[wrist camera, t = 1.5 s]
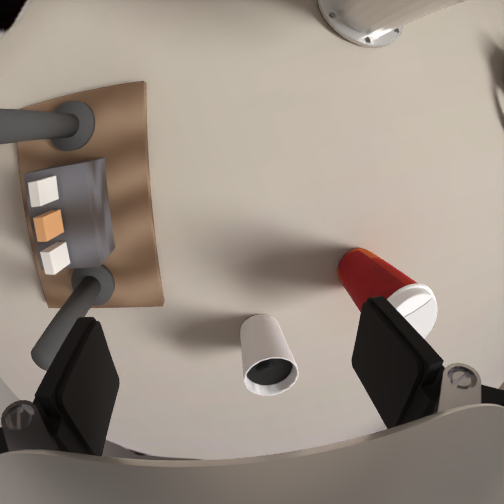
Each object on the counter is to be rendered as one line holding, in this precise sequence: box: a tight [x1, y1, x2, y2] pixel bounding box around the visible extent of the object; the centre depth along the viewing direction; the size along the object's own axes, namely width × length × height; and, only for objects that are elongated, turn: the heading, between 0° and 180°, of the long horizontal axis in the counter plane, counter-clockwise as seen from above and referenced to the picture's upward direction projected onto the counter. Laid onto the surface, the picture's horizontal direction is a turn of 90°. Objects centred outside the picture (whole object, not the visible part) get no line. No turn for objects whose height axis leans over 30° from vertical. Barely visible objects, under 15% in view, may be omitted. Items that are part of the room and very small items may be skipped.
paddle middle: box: [33, 209, 64, 242], centre depth 26 cm, size 2×1×3 cm, turn 1°
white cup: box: [240, 314, 299, 395], centre depth 39 cm, size 7×7×10 cm
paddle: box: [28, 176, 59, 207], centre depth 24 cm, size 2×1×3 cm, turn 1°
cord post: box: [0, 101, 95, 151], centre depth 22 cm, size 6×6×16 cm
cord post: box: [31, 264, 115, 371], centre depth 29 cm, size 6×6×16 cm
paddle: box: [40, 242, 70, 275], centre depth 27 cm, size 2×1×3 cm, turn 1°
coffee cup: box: [338, 248, 437, 339], centre depth 35 cm, size 8×8×15 cm
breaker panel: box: [17, 81, 164, 308], centre depth 31 cm, size 28×18×8 cm, turn 1°
